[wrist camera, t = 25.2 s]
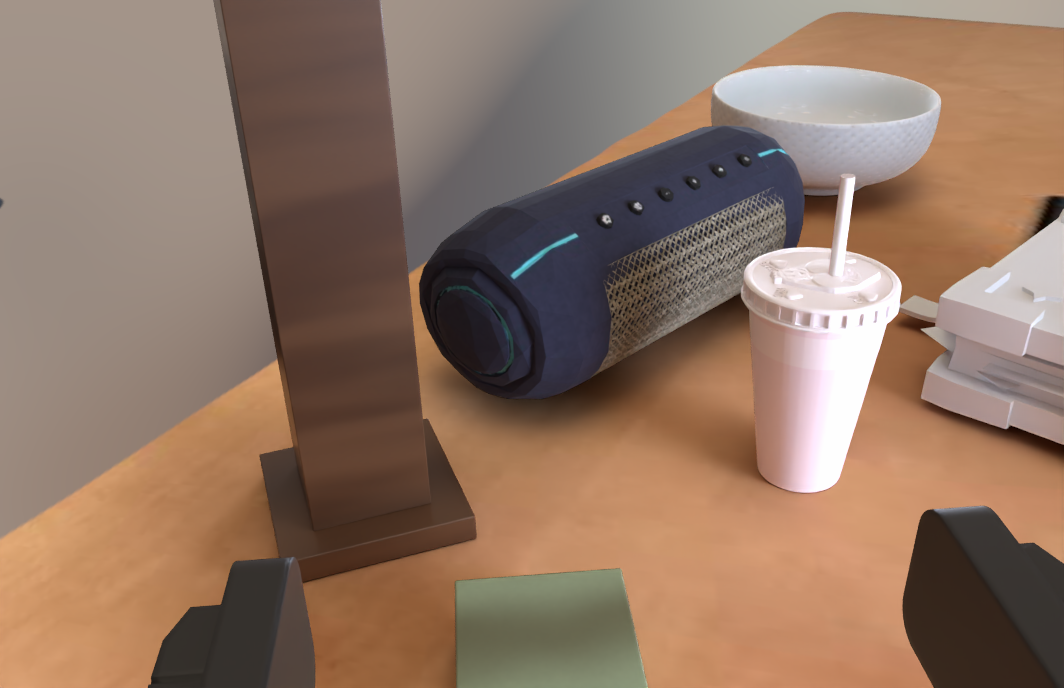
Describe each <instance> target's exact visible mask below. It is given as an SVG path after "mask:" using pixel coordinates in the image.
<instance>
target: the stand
mask: <svg viewBox="0 0 1064 688" xmlns="http://www.w3.org/2000/svg"><path fill="white" fill-rule="evenodd" d="M213 1H214V7H215V12H216V18H217V23H218V29H219V35H220V40H221V45H222V51H223V57H224V62H225V68H226V73H227V79H228V84H229V90H230V96H231V102H232V107H233V112H234V118H235V124H236V130H237V135H238V141H239V146H240V152H241V157H242V163H243V169H244V174H245V180H246V185H247V191H248V196H249V202H250V208H251V213H252V219H253V224H254V230H255V235H256V241H257V247H258V252H259V258H260V264H261V269H262V275H263V280H264V286H265V291H266V297H267V302H268V308H269V314H270V319H271V325H272V330H273V336H274V342H275V347H276V353H277V358H278V364H279V370H280V375H281V381H282V386H283V392H284V398H285V403H286V409H287V414H288V420H289V426H290V431H291V437H292V442H293V447H292V448H288V449H283V450H278V451H274V452H269V453H265V454H260V461H261V466H262V471H263V476H264V481H265V486H266V491H267V496H268V501H269V506H270V511H271V516H272V521H273V526H274V531H275V537H276V542H277V547H278V552H279V557H280V558H287V557H295V558H296V559H297V561H298V564H299V568H300V573H301V578H302V582H305V581H309V580H313V579H317V578H320V577H324V576H328V575H332V574H336V573H340V572H344V571H348V570H352V569H356V568H360V567H364V566H368V565H372V564H376V563H380V562H384V561H388V560H392V559H396V558H400V557H403V556H407V555H411V554H415V553H419V552H423V551H427V550H431V549H435V548H439V547H443V546H447V545H451V544H455V543H459V542H463V541H467V540H471V539H475V538H476V523H475V515H474V513H473V511H472V509H471V507H470V505H469V503H468V501H467V499H466V497H465V495H464V493H463V491H462V488H461V486H460V484H459V482H458V480H457V478H456V476H455V474H454V472H453V470H452V468H451V466H450V464H449V462H448V459H447V457H446V455H445V453H444V451H443V449H442V447H441V445H440V443H439V441H438V439H437V437H436V435H435V433H434V430H433V428H432V426H431V424H430V422H429V420H428V419H423V417H422V407H421V397H420V387H419V377H418V367H417V357H416V347H415V337H414V327H413V317H412V307H411V297H410V287H409V277H408V267H407V258H406V247H405V238H404V228H403V218H402V208H401V197H400V187H399V178H398V167H397V158H396V148H395V139H394V128H393V118H392V108H391V98H390V88H389V78H388V68H387V59H386V48H385V38H384V28H383V18H382V10H381V9H382V8H381V0H213Z"/></svg>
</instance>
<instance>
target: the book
mask: <svg viewBox="0 0 1064 688" xmlns="http://www.w3.org/2000/svg"><path fill="white" fill-rule="evenodd" d="M899 312H901V313H904V314H907V315H909V316H912V317H915V318H918V319H921V320H924V321H928V322H934V323H935V327H929V328H924V329H921V330H922V331H923V332H925V333H926V334H928V335H929V336H930V337H932V338H933V339H934V340H936V341H937V342H938V343H940V344H941V345H942V346H944V347H945V348H946V349H947V350H946V351H945V352H944V353H942V354H941V355H940V356H939V357H938V358H937V359H936V360H935V361H934V362H933V364H932V365H931V366H930V367H929V368H928V370H927V371H926V376H925V381H924V385H923V390H922V394H921V399H924V400H926V401H928V402H931V403H933V404H935V405H937V406H940V407H942V408H944V409H947V410H949V411H952V412H955V413H958V414H961V415H964V416H967V417H970V418H973V419H976V420H979V421H982V422H985V423H988V424H991V425H994V426H997V427H1000V428H1003V429H1007V428H1008V427H1009V426H1011V425H1012V426H1014V427H1017V428H1020V429H1022V430H1025V431H1028V432H1030V433H1033V434H1036V435H1038V436H1041V437H1044V438H1046V439H1049V440H1052V441H1055V442H1057V443H1060V444H1063V445H1064V209H1063V211H1062V213H1061V215H1060V216H1059V218H1058V219H1057V220H1055V221H1054V222H1053V223H1051V224H1050V225H1048V226H1047V227H1046V228H1044V229H1043V230H1042V231H1040V232H1039V233H1037V234H1036V235H1035V236H1033V237H1032V238H1031V239H1029V240H1028V241H1026V242H1025V243H1024V244H1022V245H1021V246H1020V247H1018V248H1017V249H1015V250H1014V251H1013V252H1011V253H1010V254H1009V255H1007V256H1006V257H1004V258H1003V259H1002V260H1000V261H999V262H998V263H996V264H995V265H993V266H992V267H991V268H988V267H981V268H979V269H978V270H976V271H975V272H973V273H971V274H970V275H968V276H967V277H965V278H963V279H962V280H960V281H958V282H957V283H955V284H954V285H952V286H951V287H950V288H949V289H948V290H947V291H945V292H944V293H943V294H942V295H941V296H940V298H939V303H935V302H932V301H929V300H927V299H924V298H921V297H918V296H916V295H914V296H912V297H911V298H910V299H908V300H907V301H905V302H904V303H902V304H901V305H900V307H899Z"/></svg>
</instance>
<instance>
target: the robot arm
mask: <svg viewBox="0 0 1064 688" xmlns="http://www.w3.org/2000/svg"><path fill="white" fill-rule="evenodd" d="M903 619H904V625H905V629H906V633H907V636H908V639H909V642H910V644H911V646H912V648H913V650H914V652H915V654H916V656H917V657H918V659H919V661H920V663H921V665H922V667H923V668H924V670H925V672H926V674H927V676H928V678H929V679H930V681H931V683H932V685H933V687H934V688H1064V564H1063V563H1062V562H1060V561H1059V560H1058V559H1056V558H1055V557H1053V556H1052V555H1050V554H1049V553H1048V552H1046V551H1045V550H1043V549H1042V548H1040V547H1039V546H1038V545H1036V544H1035V543H1024V544H1019V543H1018V542H1017V540H1016V539H1015V538H1014V536H1013V535H1012V534H1011V532H1010V531H1009V530H1008V528H1007V527H1006V526H1005V525H1004V523H1003V522H1002V521H1001V519H1000V518H999V517H998V515H997V514H996V513H995V512H994V511H993V510H992V509H991V508H989V507H987V506H974V507H960V508H946V509H932V510H927V511H925V512H924V513H923V515H922V516H921V519H920V522H919V526H918V530H917V535H916V539H915V544H914V549H913V553H912V558H911V563H910V567H909V572H908V577H907V581H906V586H905V591H904V596H903ZM148 688H315V654H314V645H313V639H312V633H311V628H310V622H309V617H308V611H307V606H306V600H305V595H304V589H303V584H302V578H301V573H300V568H299V564H298V561H297V559H296V558H295V557H287V558H273V559H259V560H245V561H236V562H234V563H233V565H232V567H231V570H230V573H229V577H228V581H227V585H226V588H225V592H224V596H223V600H222V603H221V605H213V606H200V607H190V609H189V610H188V611H187V612H186V613H185V615H184V616H183V617H182V618H181V619H180V621H179V622H178V623H177V624H176V625H175V627H174V628H173V629H172V630H171V631H170V633H169V634H168V635H167V636H166V637H165V639H164V640H163V642H162V645H161V648H160V651H159V654H158V657H157V661H156V664H155V667H154V670H153V673H152V676H151V685H148Z"/></svg>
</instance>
